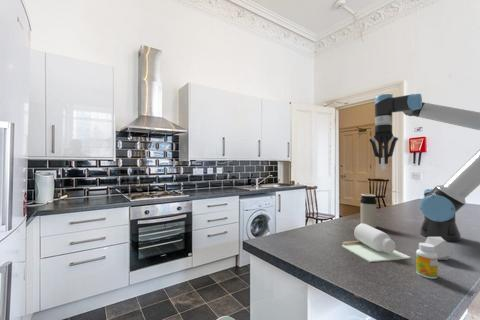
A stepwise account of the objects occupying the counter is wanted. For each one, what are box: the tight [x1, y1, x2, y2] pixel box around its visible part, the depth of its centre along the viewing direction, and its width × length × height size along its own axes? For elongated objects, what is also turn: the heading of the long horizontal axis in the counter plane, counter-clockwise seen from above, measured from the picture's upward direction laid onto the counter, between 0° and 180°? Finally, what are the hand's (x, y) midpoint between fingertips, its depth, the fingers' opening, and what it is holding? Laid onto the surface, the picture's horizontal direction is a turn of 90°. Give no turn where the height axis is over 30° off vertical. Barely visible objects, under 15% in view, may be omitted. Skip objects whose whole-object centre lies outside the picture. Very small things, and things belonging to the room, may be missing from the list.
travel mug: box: [360, 193, 378, 228], centre depth 131 cm, size 8×8×18 cm
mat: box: [341, 244, 412, 263], centre depth 92 cm, size 16×18×1 cm
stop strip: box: [341, 240, 364, 246], centre depth 101 cm, size 1×16×2 cm, turn 102°
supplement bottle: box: [415, 242, 439, 280], centre depth 74 cm, size 5×5×10 cm
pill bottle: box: [353, 223, 397, 253], centre depth 94 cm, size 8×8×15 cm
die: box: [424, 237, 455, 261], centre depth 87 cm, size 8×9×10 cm
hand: (383, 170), depth 118 cm, fingers closed
